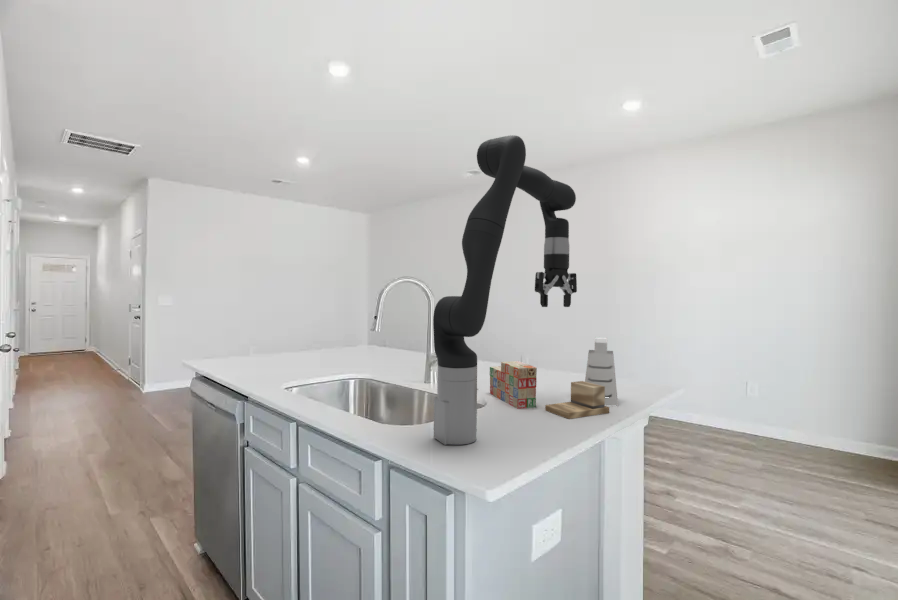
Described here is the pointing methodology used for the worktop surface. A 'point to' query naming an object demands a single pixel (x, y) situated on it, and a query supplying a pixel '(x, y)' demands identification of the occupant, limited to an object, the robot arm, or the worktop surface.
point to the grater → (602, 370)
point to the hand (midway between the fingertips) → (555, 306)
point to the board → (574, 410)
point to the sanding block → (588, 394)
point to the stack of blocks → (514, 384)
